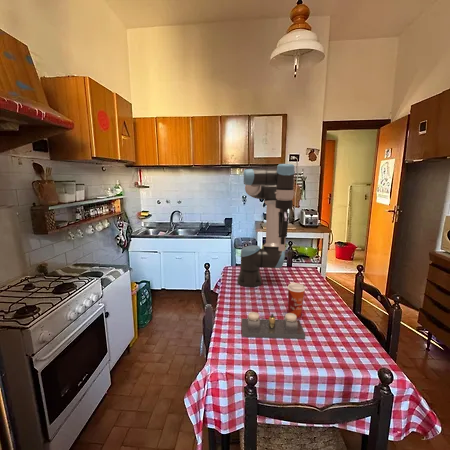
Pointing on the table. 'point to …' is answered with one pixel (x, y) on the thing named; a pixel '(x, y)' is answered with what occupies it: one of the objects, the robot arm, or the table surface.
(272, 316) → the potentiometer
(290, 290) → the coffee cup
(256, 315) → the knob
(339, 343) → the table surface
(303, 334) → the panel
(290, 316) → the knob
